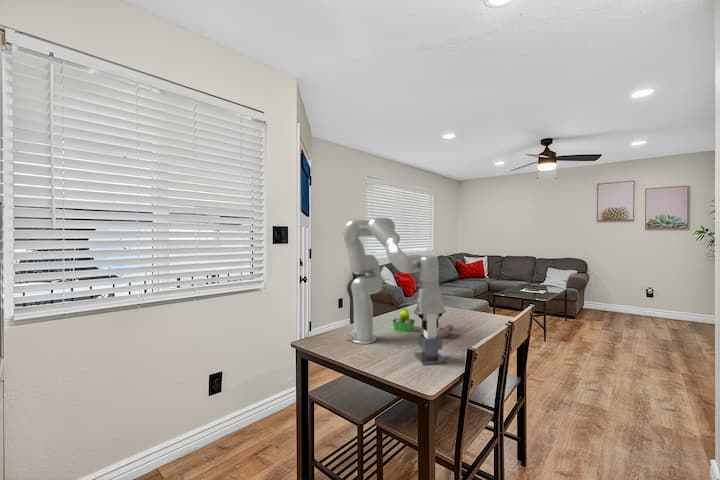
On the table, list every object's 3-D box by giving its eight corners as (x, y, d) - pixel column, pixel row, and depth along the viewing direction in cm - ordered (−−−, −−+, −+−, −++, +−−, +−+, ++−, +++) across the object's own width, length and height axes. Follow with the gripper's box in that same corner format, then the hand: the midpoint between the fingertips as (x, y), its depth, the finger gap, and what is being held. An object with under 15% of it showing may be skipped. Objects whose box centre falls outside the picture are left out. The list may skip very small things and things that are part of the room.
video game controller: (444, 342, 156) (451, 330, 154) (436, 336, 158) (442, 325, 156) (450, 336, 164) (456, 325, 162) (442, 331, 166) (448, 320, 164)
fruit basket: (391, 330, 170) (391, 310, 170) (396, 326, 178) (396, 306, 178) (412, 333, 166) (412, 311, 165) (416, 328, 174) (415, 308, 173)
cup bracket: (423, 365, 125) (422, 341, 125) (414, 355, 135) (414, 333, 135) (446, 363, 127) (446, 339, 127) (436, 353, 137) (436, 332, 137)
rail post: (427, 339, 128) (427, 310, 128) (423, 336, 132) (423, 308, 132) (436, 338, 129) (436, 309, 129) (432, 335, 133) (432, 307, 133)
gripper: (413, 288, 125) (414, 333, 126) (452, 286, 128) (452, 330, 128) (407, 285, 133) (408, 327, 133) (444, 283, 135) (444, 325, 136)
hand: (430, 328), depth 131 cm, fingers closed on rail post, 4 cm apart
